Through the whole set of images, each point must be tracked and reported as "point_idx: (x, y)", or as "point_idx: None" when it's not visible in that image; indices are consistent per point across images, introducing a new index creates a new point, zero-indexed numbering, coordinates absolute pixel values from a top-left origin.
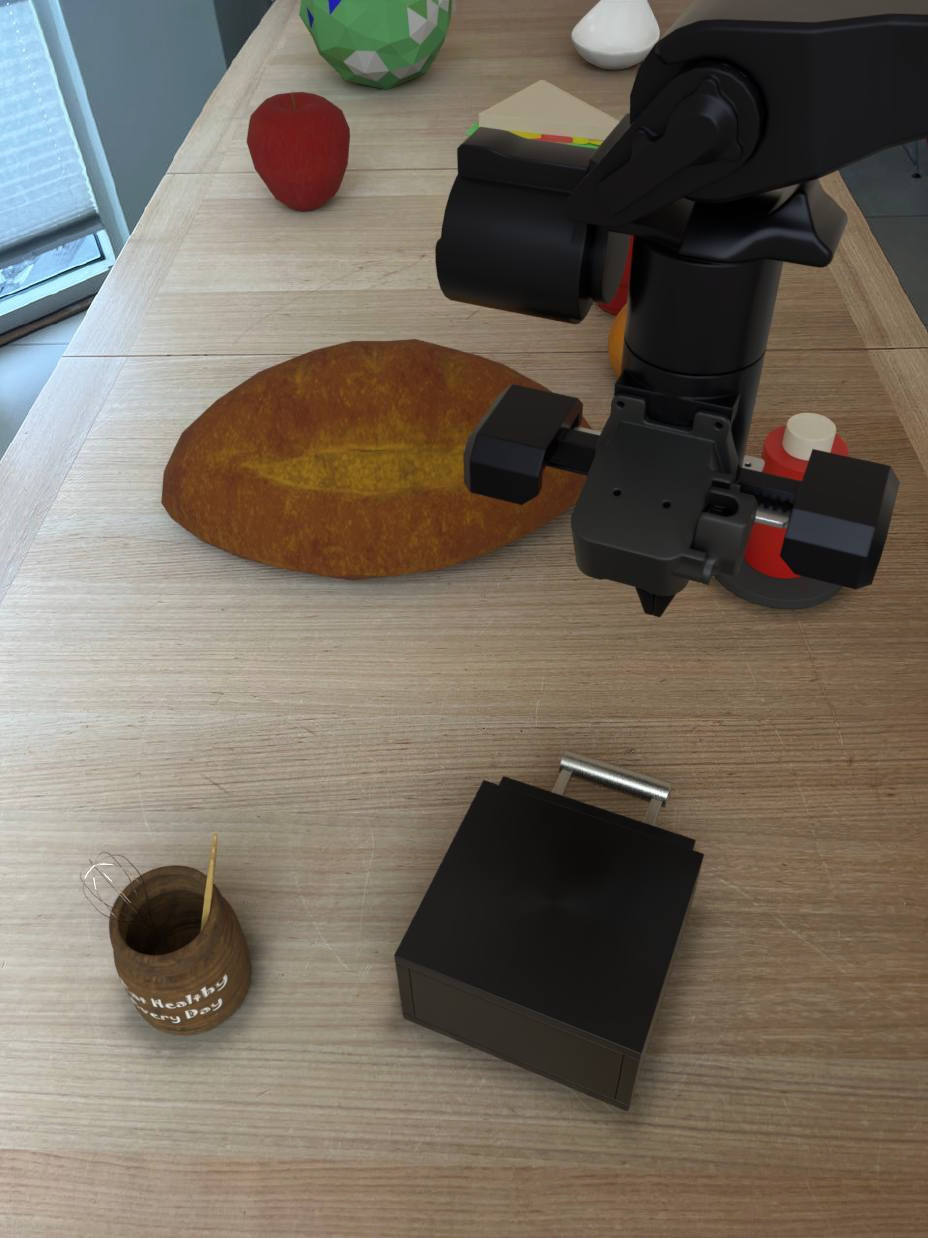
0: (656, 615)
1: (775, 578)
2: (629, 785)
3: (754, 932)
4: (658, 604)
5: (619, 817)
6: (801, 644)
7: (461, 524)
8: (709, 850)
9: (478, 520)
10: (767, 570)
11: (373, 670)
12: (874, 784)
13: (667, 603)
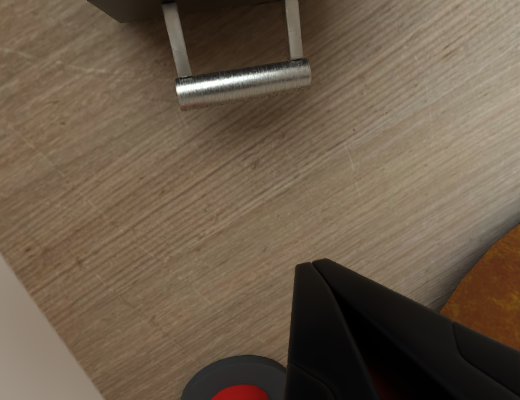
0: (304, 264)
1: (229, 385)
2: (222, 76)
3: (39, 26)
4: (314, 282)
5: None
6: (180, 342)
7: (518, 289)
8: (133, 98)
9: (503, 302)
10: (238, 389)
11: (502, 117)
12: (46, 252)
13: (297, 292)
